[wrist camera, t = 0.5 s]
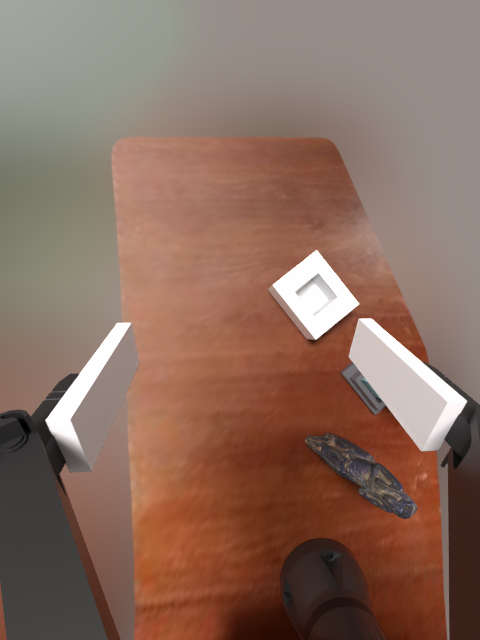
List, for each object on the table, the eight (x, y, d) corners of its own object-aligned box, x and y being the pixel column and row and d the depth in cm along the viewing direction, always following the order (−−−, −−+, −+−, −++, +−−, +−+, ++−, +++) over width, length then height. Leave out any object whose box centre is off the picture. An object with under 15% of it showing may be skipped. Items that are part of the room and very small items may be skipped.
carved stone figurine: (309, 422, 48) (346, 463, 33) (366, 444, 48) (429, 495, 33) (298, 450, 48) (331, 505, 33) (356, 472, 48) (415, 537, 33)
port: (346, 306, 49) (359, 303, 44) (306, 338, 49) (315, 339, 44) (307, 258, 49) (316, 250, 44) (267, 289, 49) (272, 285, 44)
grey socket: (403, 386, 49) (414, 390, 46) (372, 413, 49) (381, 418, 46) (371, 346, 49) (380, 347, 46) (339, 372, 49) (347, 375, 46)
